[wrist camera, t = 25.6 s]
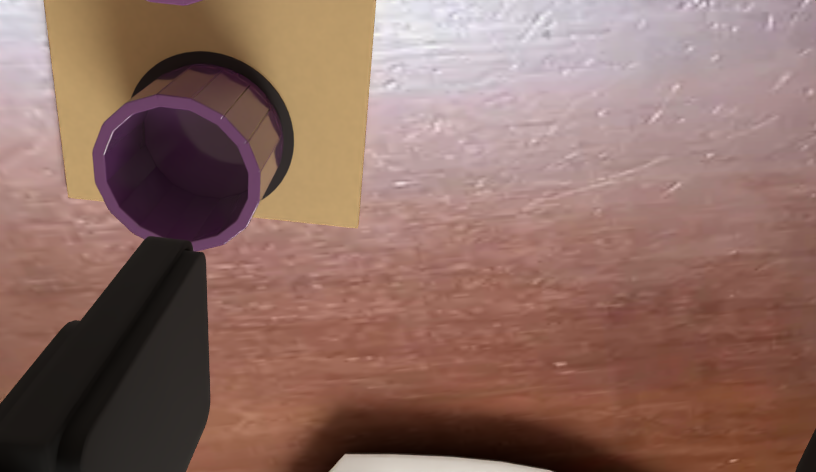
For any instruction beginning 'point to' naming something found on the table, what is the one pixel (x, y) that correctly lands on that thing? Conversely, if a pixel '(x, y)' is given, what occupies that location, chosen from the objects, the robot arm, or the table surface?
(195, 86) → the plum dish
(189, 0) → the plum dish
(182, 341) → the robot arm
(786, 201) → the table surface
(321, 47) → the placemat
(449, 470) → the plate
